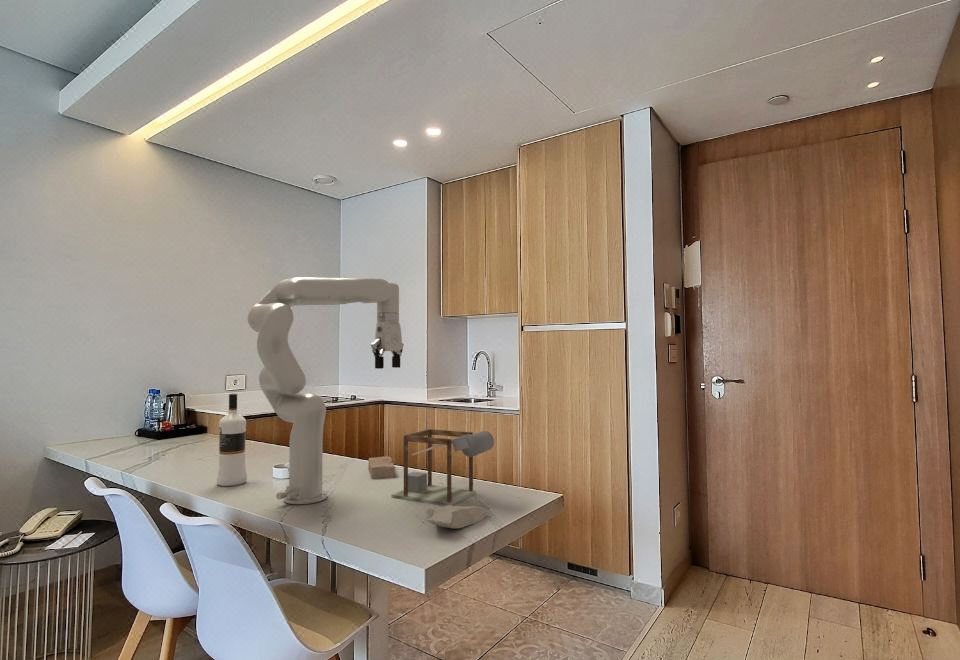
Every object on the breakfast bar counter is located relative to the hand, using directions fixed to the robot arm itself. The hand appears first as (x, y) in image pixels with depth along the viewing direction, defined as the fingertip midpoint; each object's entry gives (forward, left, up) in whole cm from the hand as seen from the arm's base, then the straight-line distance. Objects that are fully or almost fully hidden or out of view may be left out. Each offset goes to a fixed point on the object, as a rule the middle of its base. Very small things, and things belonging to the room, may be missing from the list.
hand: (387, 368), depth 183 cm
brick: (+7, +8, -39) cm, 40 cm away
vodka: (-27, +44, -38) cm, 64 cm away
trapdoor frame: (-10, -25, -38) cm, 47 cm away
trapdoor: (-10, -33, -27) cm, 44 cm away
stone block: (-10, -16, -35) cm, 40 cm away
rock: (-30, -42, -39) cm, 64 cm away
